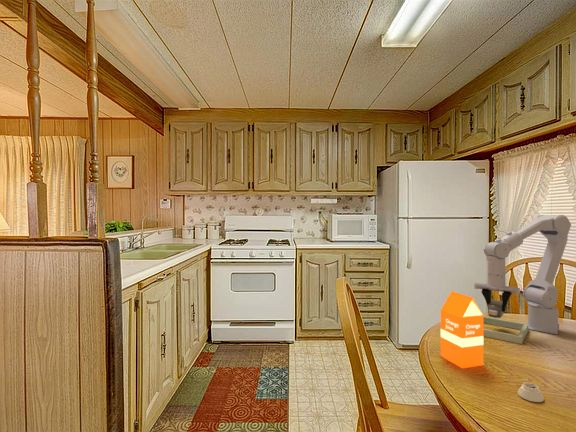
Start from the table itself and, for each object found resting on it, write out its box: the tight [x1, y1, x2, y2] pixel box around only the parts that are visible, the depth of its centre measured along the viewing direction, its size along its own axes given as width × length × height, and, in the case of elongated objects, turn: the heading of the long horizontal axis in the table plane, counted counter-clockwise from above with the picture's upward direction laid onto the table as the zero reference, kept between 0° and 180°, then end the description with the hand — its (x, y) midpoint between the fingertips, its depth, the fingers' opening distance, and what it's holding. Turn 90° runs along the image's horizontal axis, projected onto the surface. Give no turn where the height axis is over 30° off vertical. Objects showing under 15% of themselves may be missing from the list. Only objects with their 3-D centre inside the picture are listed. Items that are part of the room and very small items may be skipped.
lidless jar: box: [517, 382, 545, 403], centre depth 80 cm, size 5×3×5 cm
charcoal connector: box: [487, 299, 505, 319], centre depth 125 cm, size 4×13×4 cm, turn 139°
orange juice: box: [440, 291, 485, 369], centre depth 101 cm, size 8×9×20 cm
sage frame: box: [483, 315, 529, 345], centre depth 126 cm, size 18×18×2 cm
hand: (496, 310), depth 126 cm, fingers closed on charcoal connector, 4 cm apart
